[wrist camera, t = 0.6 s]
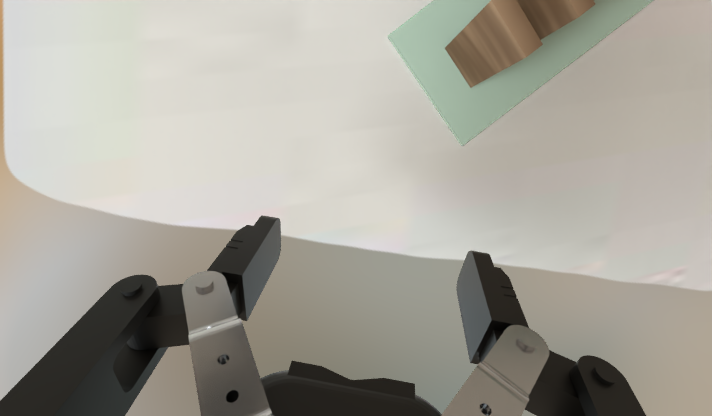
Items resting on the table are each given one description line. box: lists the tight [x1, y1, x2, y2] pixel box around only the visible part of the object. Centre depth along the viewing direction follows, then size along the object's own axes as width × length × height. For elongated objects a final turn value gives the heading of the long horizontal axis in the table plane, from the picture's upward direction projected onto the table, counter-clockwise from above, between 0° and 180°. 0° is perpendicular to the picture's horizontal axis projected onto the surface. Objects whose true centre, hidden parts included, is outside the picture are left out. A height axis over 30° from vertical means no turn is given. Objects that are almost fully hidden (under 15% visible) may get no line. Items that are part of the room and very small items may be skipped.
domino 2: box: [517, 0, 595, 40], centre depth 29 cm, size 2×5×10 cm, turn 37°
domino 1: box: [445, 0, 543, 88], centre depth 29 cm, size 2×5×10 cm, turn 37°
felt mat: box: [388, 0, 653, 146], centre depth 34 cm, size 30×14×1 cm, turn 127°
